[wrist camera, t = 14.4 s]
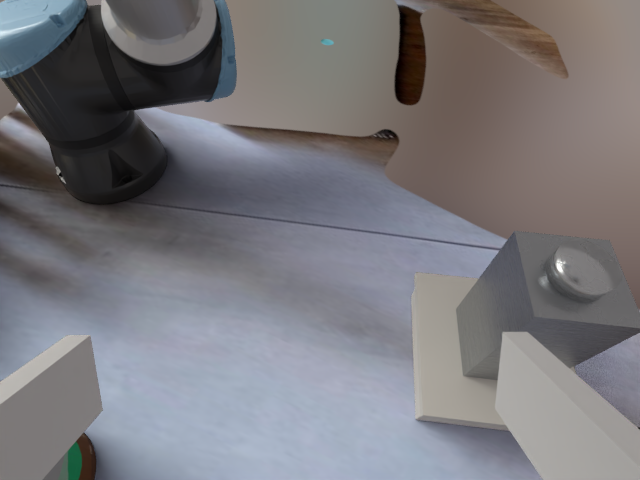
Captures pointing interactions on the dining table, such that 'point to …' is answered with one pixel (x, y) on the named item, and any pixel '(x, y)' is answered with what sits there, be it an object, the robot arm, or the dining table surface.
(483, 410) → the plinth
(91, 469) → the food container
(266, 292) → the dining table surface
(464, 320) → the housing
